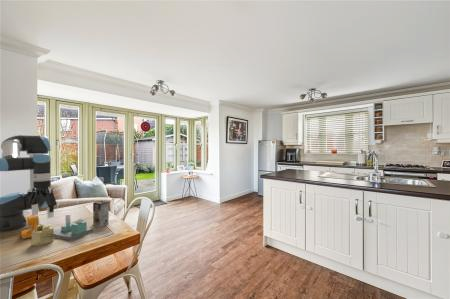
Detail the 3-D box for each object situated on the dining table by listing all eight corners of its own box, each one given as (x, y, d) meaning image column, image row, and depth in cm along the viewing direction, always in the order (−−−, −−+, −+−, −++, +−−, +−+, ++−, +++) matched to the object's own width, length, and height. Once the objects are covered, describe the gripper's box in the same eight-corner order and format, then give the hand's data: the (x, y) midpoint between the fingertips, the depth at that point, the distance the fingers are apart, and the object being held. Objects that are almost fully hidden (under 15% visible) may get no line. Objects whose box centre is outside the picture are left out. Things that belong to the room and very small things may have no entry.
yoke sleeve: (31, 244, 114) (31, 227, 113) (45, 239, 120) (45, 223, 120) (39, 246, 111) (39, 229, 111) (53, 241, 118) (53, 224, 118)
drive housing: (48, 236, 125) (48, 217, 124) (71, 227, 138) (71, 210, 138) (71, 240, 119) (71, 221, 118) (93, 231, 132) (93, 213, 132)
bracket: (21, 235, 126) (21, 216, 126) (36, 231, 132) (36, 213, 131) (23, 240, 119) (23, 220, 119) (39, 236, 125) (39, 217, 125)
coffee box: (92, 224, 143) (92, 202, 143) (101, 221, 149) (101, 200, 149) (100, 226, 139) (100, 204, 139) (109, 223, 145) (109, 201, 145)
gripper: (20, 180, 115) (20, 216, 116) (49, 182, 108) (49, 221, 108) (36, 178, 123) (36, 212, 123) (64, 180, 115) (64, 216, 115)
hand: (42, 216), depth 115 cm, fingers open, 13 cm apart
